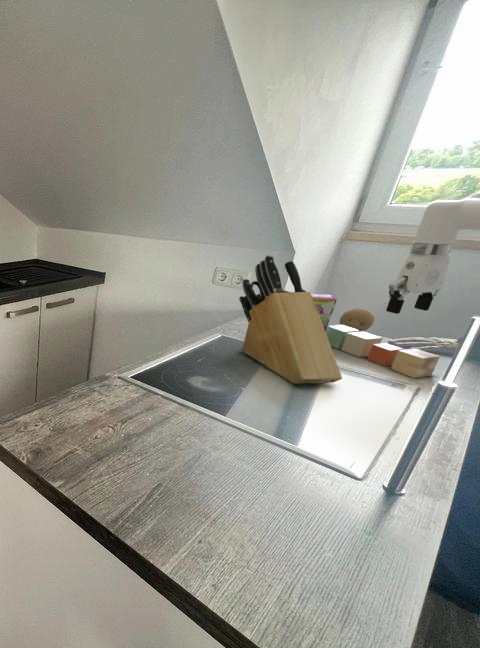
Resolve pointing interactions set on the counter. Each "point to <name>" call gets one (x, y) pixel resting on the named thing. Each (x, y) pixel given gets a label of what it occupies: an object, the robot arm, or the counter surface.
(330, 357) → the knife block
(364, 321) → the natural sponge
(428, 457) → the counter surface
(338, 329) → the sage block
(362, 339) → the cream block
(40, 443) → the counter surface
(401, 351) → the beech block
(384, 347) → the terracotta block
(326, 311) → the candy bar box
